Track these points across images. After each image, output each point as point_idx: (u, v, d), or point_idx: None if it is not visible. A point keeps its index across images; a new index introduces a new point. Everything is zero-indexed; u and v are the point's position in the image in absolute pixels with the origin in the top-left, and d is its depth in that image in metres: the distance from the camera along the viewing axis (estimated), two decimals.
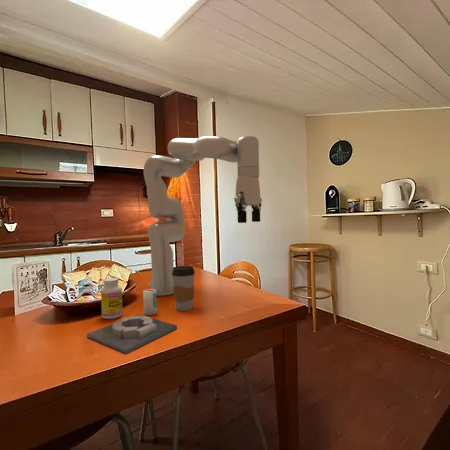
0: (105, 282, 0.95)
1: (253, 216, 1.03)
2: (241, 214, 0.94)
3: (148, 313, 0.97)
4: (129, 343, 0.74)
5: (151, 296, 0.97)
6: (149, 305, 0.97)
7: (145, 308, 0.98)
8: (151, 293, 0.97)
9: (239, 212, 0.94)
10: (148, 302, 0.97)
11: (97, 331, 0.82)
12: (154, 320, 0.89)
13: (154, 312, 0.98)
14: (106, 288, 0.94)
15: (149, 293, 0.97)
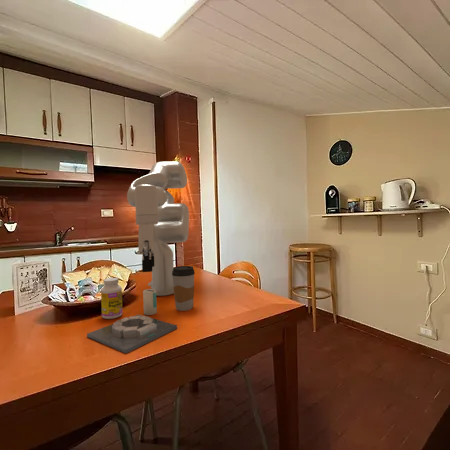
0: (105, 282, 0.95)
1: None
2: (147, 263, 0.93)
3: (148, 313, 0.97)
4: (129, 343, 0.74)
5: (151, 296, 0.97)
6: (149, 305, 0.97)
7: (145, 308, 0.98)
8: (151, 293, 0.97)
9: (145, 261, 0.93)
10: (148, 302, 0.97)
11: (97, 331, 0.82)
12: (154, 320, 0.89)
13: (154, 312, 0.98)
14: (106, 288, 0.94)
15: (149, 293, 0.97)
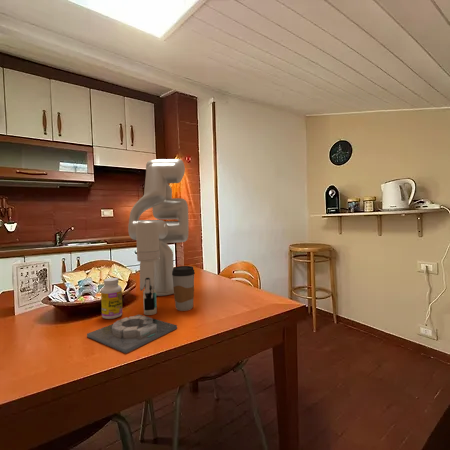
0: (105, 282, 0.95)
1: None
2: (150, 302, 0.96)
3: (148, 313, 0.97)
4: (129, 343, 0.74)
5: None
6: None
7: None
8: None
9: (147, 300, 0.96)
10: None
11: (97, 331, 0.82)
12: (154, 320, 0.89)
13: (154, 312, 0.98)
14: (106, 288, 0.94)
15: None
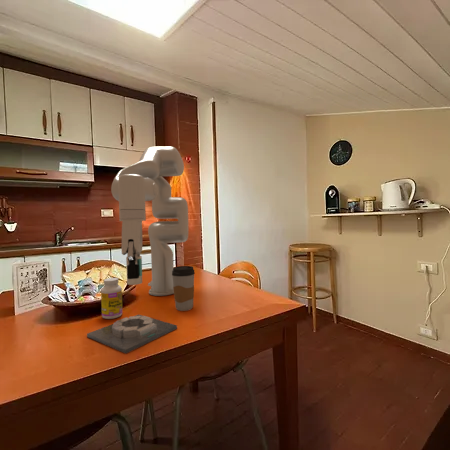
0: (105, 282, 0.95)
1: None
2: (133, 269, 0.81)
3: (132, 282, 0.83)
4: (129, 343, 0.74)
5: None
6: None
7: None
8: None
9: (131, 267, 0.81)
10: None
11: (97, 331, 0.82)
12: (154, 320, 0.89)
13: (139, 282, 0.84)
14: (106, 288, 0.94)
15: None
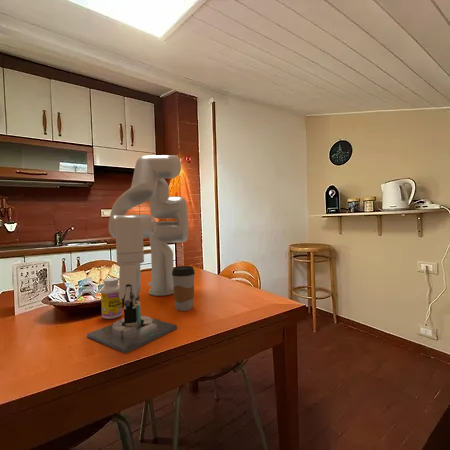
0: (105, 282, 0.95)
1: None
2: (131, 313, 0.78)
3: None
4: (129, 343, 0.74)
5: None
6: None
7: (127, 324, 0.81)
8: None
9: (128, 311, 0.78)
10: None
11: (97, 331, 0.82)
12: (154, 320, 0.89)
13: None
14: (106, 288, 0.94)
15: None
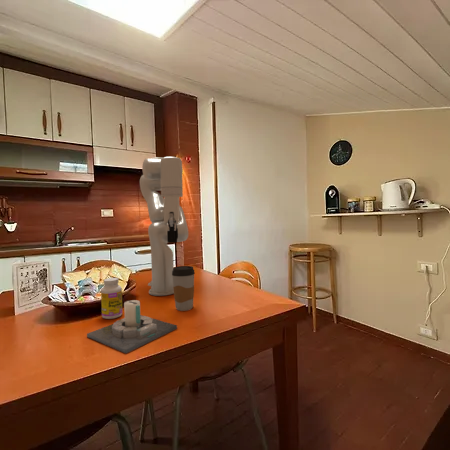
0: (105, 282, 0.95)
1: None
2: (173, 234, 0.95)
3: None
4: (129, 343, 0.74)
5: (133, 310, 0.81)
6: (131, 320, 0.81)
7: (126, 324, 0.81)
8: (133, 306, 0.81)
9: (170, 232, 0.95)
10: (130, 317, 0.80)
11: (97, 331, 0.82)
12: (154, 320, 0.89)
13: None
14: (106, 288, 0.94)
15: (131, 306, 0.80)
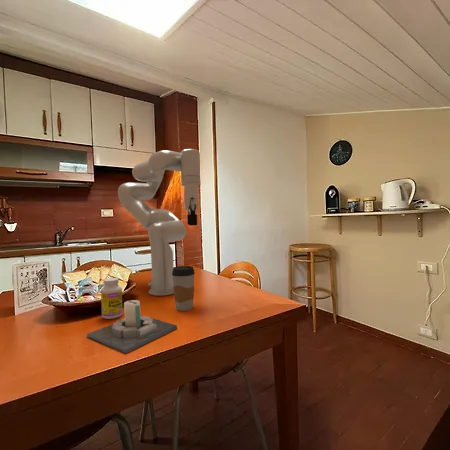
0: (105, 282, 0.95)
1: (189, 219, 1.16)
2: (193, 217, 1.06)
3: None
4: (129, 343, 0.74)
5: (133, 309, 0.81)
6: (131, 320, 0.81)
7: (126, 324, 0.81)
8: (133, 306, 0.81)
9: (191, 216, 1.06)
10: (129, 317, 0.81)
11: (97, 331, 0.82)
12: (154, 320, 0.89)
13: None
14: (106, 288, 0.94)
15: (131, 306, 0.80)
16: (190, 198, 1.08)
